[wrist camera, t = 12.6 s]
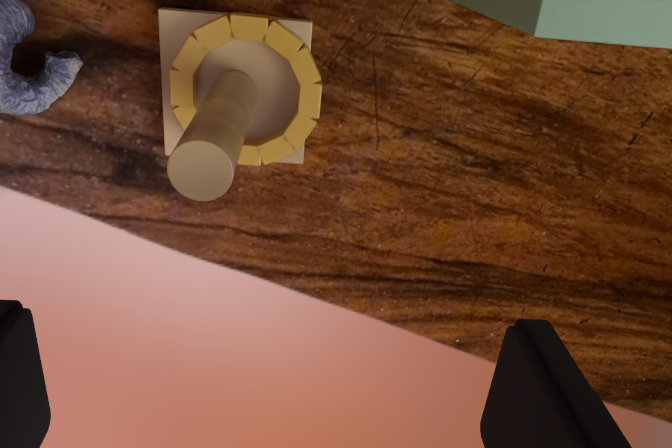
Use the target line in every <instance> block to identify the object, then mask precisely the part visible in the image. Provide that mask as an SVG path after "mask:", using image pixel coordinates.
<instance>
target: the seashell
mask: <svg viewBox="0 0 672 448" xmlns="http://www.w3.org/2000/svg"><path fill="white" fill-rule="evenodd" d="M34 25H35V18H34V16H33V13H32V11H31V9H30V7H29V6H28V4H27V3H26V2H25V1H24V0H0V113H8V114H18V115H19V116H22V115H25V114H37V113H39V112H41V111H43V110H46V109H48V108H49V105H50V104H51V103H53V102H54V101H55V100H56V99H58V98H59V97H60V96H62V95H63V94H64V93H65V92H66V91H67V89H68V88H69V87H70V86H71V84H72V83H73V81H74V79H75V77H76V74H77V72H78V71H79V69H80V67H81V66H82V65H83V62H82V61H81V59H80V57H79V56H78V55H77V53H76V52H70V51H66V50H63V51H61V52H59V53H53V52H51V51H46V52H45V53H44V54H45V63H44V67H43V68H42V69H41V71H40V72H39V73H38V74H37V75H35V76H34V77H26V76H22V75H20V74H18V73H15V72H14V71H13V70H11V68H10V66H11V58H12V52H13V48H14V47H15V46H16V45H15V43H22V38H24V37H26V36H27V35H28V34H30V33H32V32H33V30H34Z"/></svg>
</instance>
